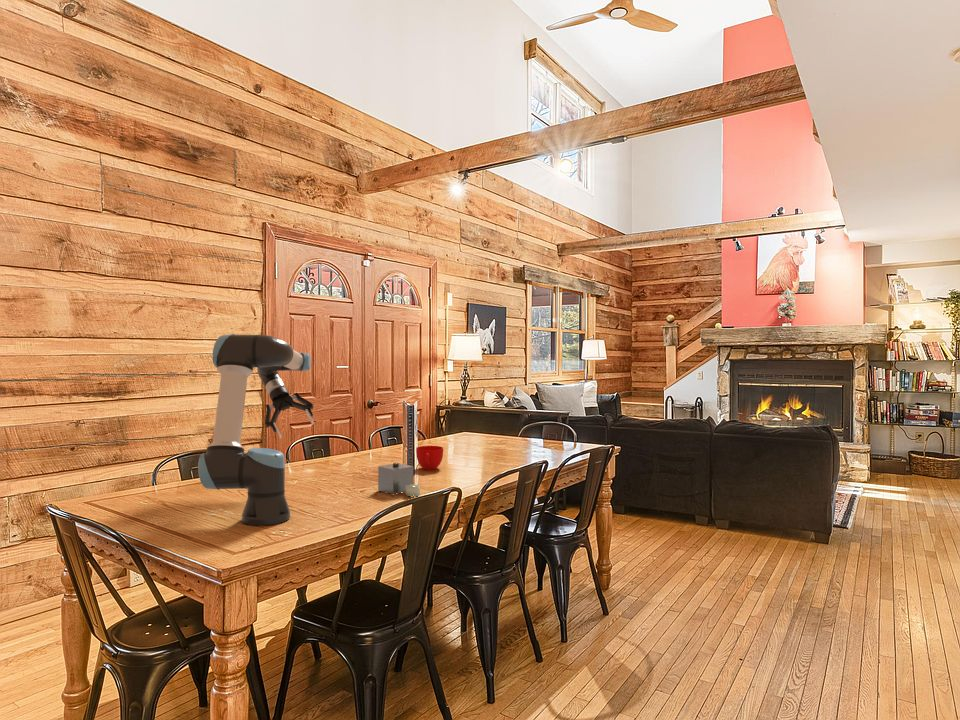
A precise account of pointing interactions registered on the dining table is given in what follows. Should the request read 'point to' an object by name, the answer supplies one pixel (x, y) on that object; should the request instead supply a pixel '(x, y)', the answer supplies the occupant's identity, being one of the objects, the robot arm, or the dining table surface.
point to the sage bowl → (412, 490)
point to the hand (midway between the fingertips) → (296, 429)
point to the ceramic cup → (429, 456)
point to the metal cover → (394, 477)
